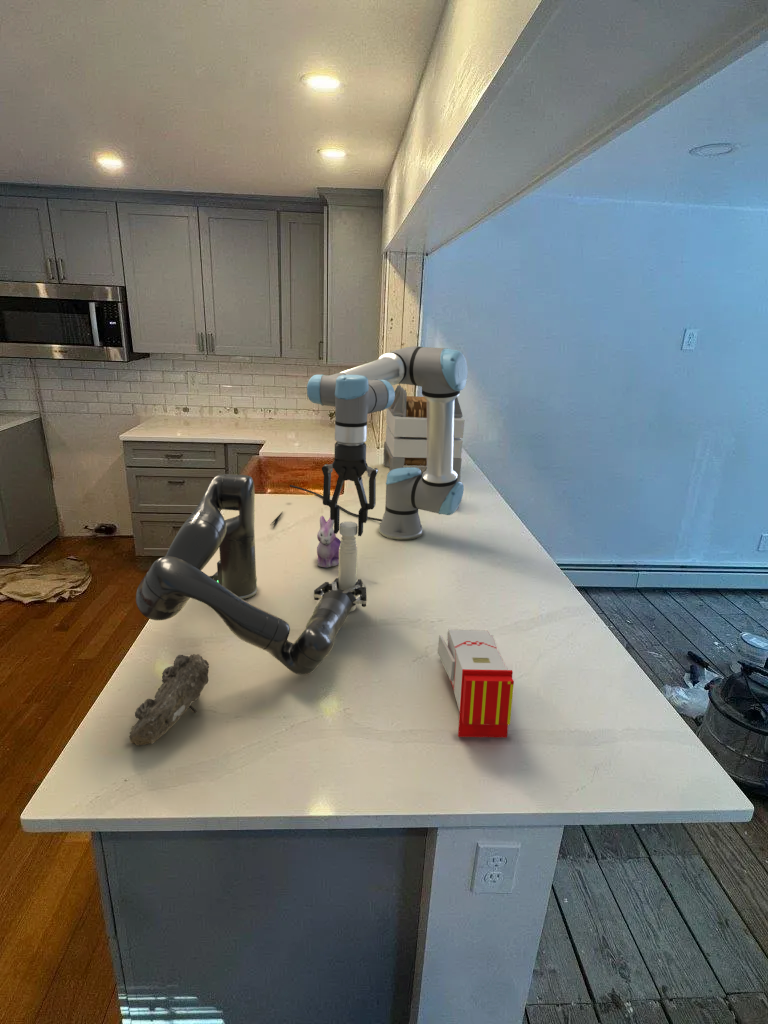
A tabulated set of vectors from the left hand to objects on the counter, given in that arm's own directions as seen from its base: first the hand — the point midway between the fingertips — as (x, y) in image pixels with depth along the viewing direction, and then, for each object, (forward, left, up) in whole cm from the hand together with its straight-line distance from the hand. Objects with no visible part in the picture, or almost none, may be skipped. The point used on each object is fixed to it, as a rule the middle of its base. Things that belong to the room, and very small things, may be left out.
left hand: (350, 581), depth 150 cm
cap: (0, -3, +17) cm, 17 cm away
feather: (-42, +57, -6) cm, 71 cm away
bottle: (0, -3, -6) cm, 7 cm away
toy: (+34, -30, -6) cm, 45 cm away
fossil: (-21, -50, -6) cm, 55 cm away
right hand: (0, -3, +15) cm, 15 cm away
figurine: (-12, +23, -6) cm, 27 cm away
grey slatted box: (0, +133, -6) cm, 133 cm away
